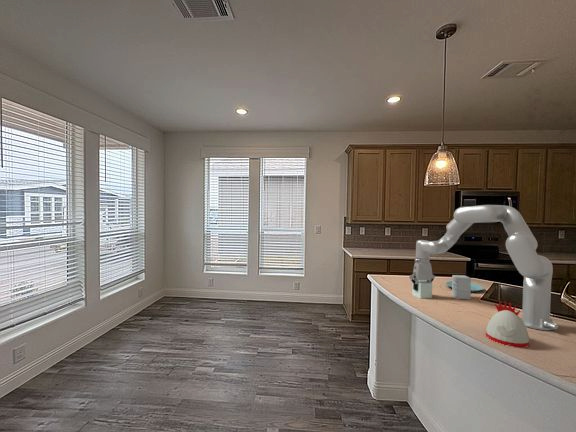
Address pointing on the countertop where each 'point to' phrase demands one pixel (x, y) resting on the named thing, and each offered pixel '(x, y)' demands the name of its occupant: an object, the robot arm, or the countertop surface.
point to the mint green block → (423, 289)
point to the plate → (473, 286)
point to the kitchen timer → (507, 327)
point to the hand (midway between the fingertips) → (421, 289)
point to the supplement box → (461, 287)
